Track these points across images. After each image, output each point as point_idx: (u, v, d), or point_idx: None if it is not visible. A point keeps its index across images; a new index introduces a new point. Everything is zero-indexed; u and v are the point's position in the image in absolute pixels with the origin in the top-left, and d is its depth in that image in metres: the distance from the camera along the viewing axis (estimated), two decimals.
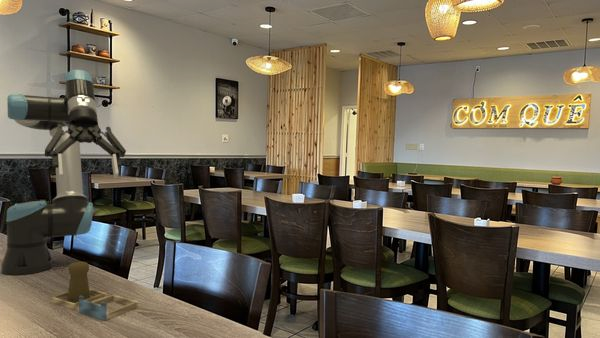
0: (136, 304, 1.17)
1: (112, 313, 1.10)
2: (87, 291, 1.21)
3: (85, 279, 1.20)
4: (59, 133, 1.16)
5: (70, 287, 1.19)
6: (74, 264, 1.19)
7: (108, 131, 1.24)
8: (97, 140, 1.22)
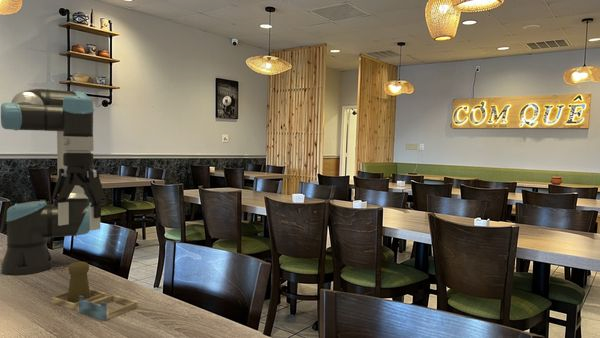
0: (136, 304, 1.17)
1: (112, 313, 1.10)
2: (87, 291, 1.21)
3: (85, 279, 1.20)
4: (59, 179, 1.21)
5: (70, 287, 1.19)
6: (74, 264, 1.19)
7: (89, 176, 1.15)
8: None
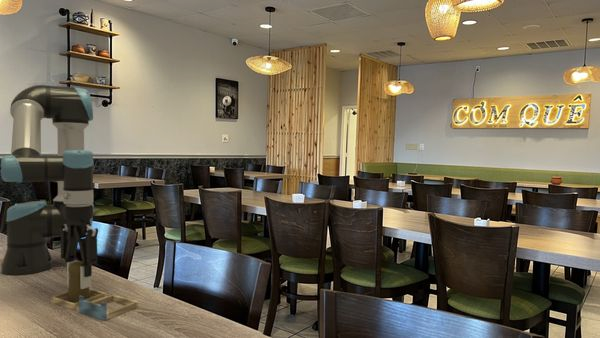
0: (136, 304, 1.17)
1: (112, 313, 1.10)
2: (87, 291, 1.21)
3: None
4: (62, 235, 1.21)
5: (70, 287, 1.19)
6: (74, 264, 1.19)
7: (87, 235, 1.16)
8: None
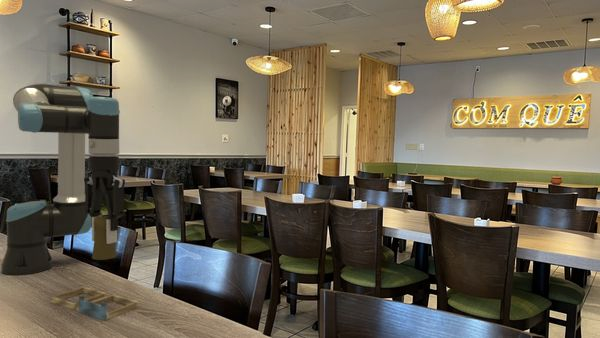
0: (136, 304, 1.17)
1: (112, 313, 1.10)
2: (113, 247, 1.14)
3: None
4: (87, 188, 1.15)
5: (95, 242, 1.13)
6: (99, 218, 1.13)
7: (114, 186, 1.10)
8: None
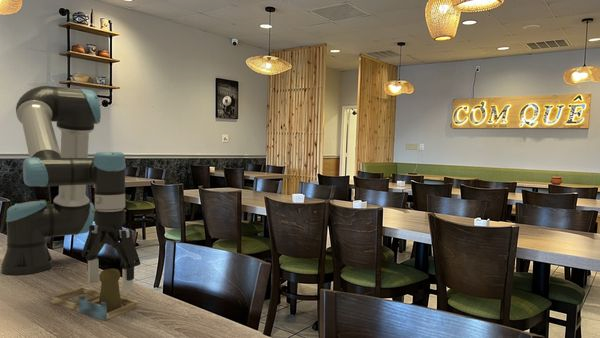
0: (136, 304, 1.17)
1: (112, 313, 1.10)
2: (119, 300, 1.15)
3: (117, 287, 1.14)
4: (90, 236, 1.16)
5: (101, 296, 1.13)
6: (105, 271, 1.13)
7: (122, 237, 1.10)
8: None
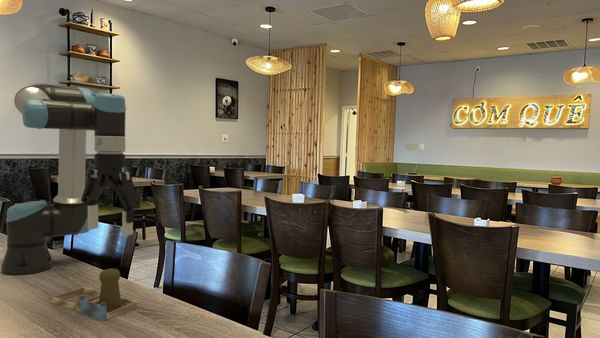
0: (136, 304, 1.17)
1: (112, 313, 1.10)
2: (119, 300, 1.15)
3: (117, 287, 1.14)
4: (89, 181, 1.15)
5: (101, 296, 1.13)
6: (105, 271, 1.13)
7: (122, 179, 1.09)
8: None
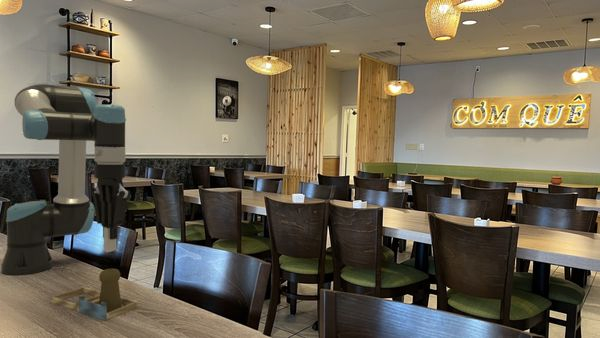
0: (136, 304, 1.17)
1: (112, 313, 1.10)
2: (119, 300, 1.15)
3: (117, 287, 1.14)
4: (95, 198, 1.14)
5: (101, 296, 1.13)
6: (105, 271, 1.13)
7: (118, 196, 1.10)
8: None
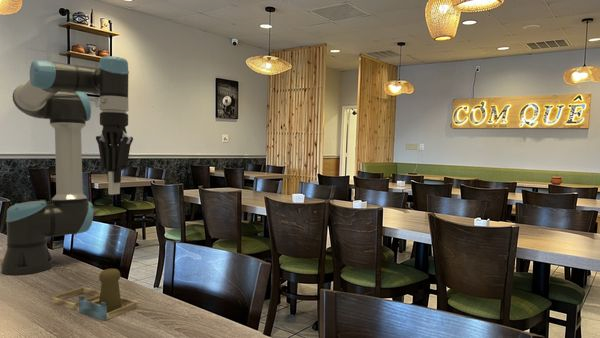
0: (136, 304, 1.17)
1: (112, 313, 1.10)
2: (119, 300, 1.15)
3: (117, 287, 1.14)
4: (100, 145, 1.23)
5: (101, 296, 1.13)
6: (105, 271, 1.13)
7: (122, 141, 1.19)
8: None
